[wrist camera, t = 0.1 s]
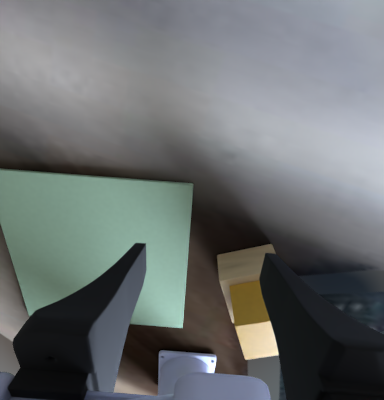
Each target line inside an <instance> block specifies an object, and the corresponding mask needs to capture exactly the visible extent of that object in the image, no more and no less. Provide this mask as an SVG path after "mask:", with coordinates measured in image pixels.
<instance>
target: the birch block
mask: <svg viewBox="0 0 384 400" xmlns="http://www.w3.org/2000/svg"><path fill="white" fill-rule="evenodd" d="M265 253H275V254H276V252H275V250H274V248H273V246H272V244H268V245H263V246H258V247H253V248H248V249H244V250H239V251H234V252H229V253H224V254H219V255H217V262H218V273H219V282H220V285H221V288H222V292H223V295H224V298H225V301H226V304H227V307H228V311H229V314H230V317H231V320H232V323H234V317H233V310H232V302H231V295H230V288H229V286H232V285H237V284H242V283H248V282H253V281H258V280H259V277H260V273H261V269H262V265H263V261H264V257H265Z"/></svg>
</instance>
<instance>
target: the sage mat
mask: <svg viewBox="0 0 384 400" xmlns="http://www.w3.org/2000/svg"><path fill="white" fill-rule="evenodd" d="M192 197H193V183H181V182H168V181H155V180H142V179H130V178H117V177H104V176H91V175H78V174H65V173H52V172H39V171H26V170H13V169H0V224H1V227H2V230H3V234H4V237H5V240H6V243H7V246H8V250H9V253H10V256H11V259H12V263H13V266H14V269H15V272H16V275H17V279H18V282H19V285H20V288H21V292H22V295H23V298H24V301H25V305H26V308H27V311H28V314H29V316H31V315H32V314H33V313H34V312H35V311H36V310H37V309H40V308H42V307H45V306H47V305H50V304H52V303H54V302H57V301H59V300H61V299H63V298H65V297H67V296H69V295H71V294H73V293H74V292H76V291H78V290H80V289H81V288H83V287H84V286H86V285H88V284H89V283H91V282H92V281H94V280H95V279H97V278H98V277H99V276H101V275H102V274H103V273H104V272H106V271H107V270H108V269H109V268H110V267H112V266H113V265H114V264H115V263H116V262H117V261H118V260H119V259H120V258H121V257H122V256H123V255H124V254H125V253H126V252H127V251H128V250H129V249H130V248H131V247H132V246H133V245H134V244H135V243H146V269H147V270H146V275H145V279H144V283H143V287H142V290H141V293H140V295H139V298H138V301H137V304H136V307H135V309H134V312H133V315H132V318H131V321H130V324H137V325H150V326H162V327H175V328H183V315H184V302H185V289H186V276H187V262H188V249H189V236H190V223H191V210H192Z"/></svg>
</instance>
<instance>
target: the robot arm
mask: <svg viewBox="0 0 384 400" xmlns="http://www.w3.org/2000/svg"><path fill="white" fill-rule="evenodd" d="M146 270H147V269H146V243H135V244H134V245H133V246H132V247H131V248H130V249H129V250H128V251H127V252H126V253H125V254H124V255H123V256H122V257H121V258H120V259H119V260H118V261H117V262H116V263H115V264H114V265H113V266H112V267H110V268H109V269H108V270H107V271H106V272H104V273H103V274H102V275H101V276H99V277H98V278H97V279H95V280H94V281H92V282H91V283H89V284H88V285H86V286H84V287H83V288H81V289H80V290H78V291H76V292H74V293H73V294H71V295H69V296H67V297H65V298H63V299H61V300H59V301H57V302H54V303H52V304H50V305H47V306H45V307H42V308H40V309H37V310H36V311H35V312H34V313H33V314H32V315H31V316H30V318H29V319H28V320H27V321H26V323H25V324H24V325H23V327H22V328H21V330H20V331H19V332H18V334H17V335H16V336H15V338H14V340H13V348H14V351H15V354H16V357H17V359H18V361H19V364H20V367H21V368H20V369H19V371H18V372H17V374H16V375H15V376H14V375H12V374H11V373H7V372H0V400H271V398H270V393H269V388H268V385H266V384H265V383H264V382H263V381H262V380H260V379H259V378H254V377H250V376H242V375H229V374H217V373H214V369H215V364H216V355H214V354H205V353H192V352H179V351H167V350H161V351H159V371H158V396H150V395H137V394H125V393H113V391H114V387H115V382H116V377H117V373H118V369H119V364H120V360H121V356H122V351H123V347H124V343H125V339H126V335H127V331H128V327H129V324H130V321H131V318H132V315H133V312H134V309H135V307H136V304H137V301H138V298H139V295H140V293H141V290H142V287H143V283H144V279H145V275H146ZM259 281H260V287H261V293H262V297H263V300H264V303H265V306H266V310H267V313H268V316H269V319H270V322H271V325H272V328H273V332H274V335H275V339H276V344H277V349H278V354H279V359H280V364H281V369H282V374H283V380H284V386H285V392H286V399H287V400H384V334H382V333H380V332H378V331H376V330H374V329H372V328H370V327H368V326H366V325H364V324H362V323H361V322H359V321H357V320H355V319H354V318H352V317H350V316H349V315H347V314H346V313H344V312H343V311H341V310H340V309H338V308H337V307H335V306H334V305H332V304H331V303H329V302H328V301H327V300H325V299H324V298H323V297H321V296H320V295H319V294H318V293H316V292H315V291H314V290H313V289H311V288H310V287H309V286H308V285H307V284H306V283H305V282H304V281H302V280H301V279H300V278H299V277H298V276H297V275H296V274H295V273H294V272H293V271H292V270H291V269H290V268H289V267H288V266H287V265H286V264H285V263H284V262H283V260H282V259H281V258H280V257H279V256H278V255H277V254H275V253H265V257H264V261H263V265H262V269H261V273H260V277H259Z"/></svg>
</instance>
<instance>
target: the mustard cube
mask: <svg viewBox="0 0 384 400" xmlns="http://www.w3.org/2000/svg"><path fill="white" fill-rule="evenodd" d="M229 288H230V295H231V302H232V310H233V317H234V324H235V329H236V332H237V335H238V338H239V342H240V345H241V348H242V351H243V354H244V358H245V360H248V359H255V358H262V357H270V356H277V355H279V354H278V349H277V344H276V339H275V335H274V332H273V328H272V325H271V322H270V319H269V316H268V313H267V310H266V306H265V303H264V300H263V297H262V293H261V287H260V281H259V280H258V281H253V282H248V283H242V284H237V285H232V286H229Z"/></svg>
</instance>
